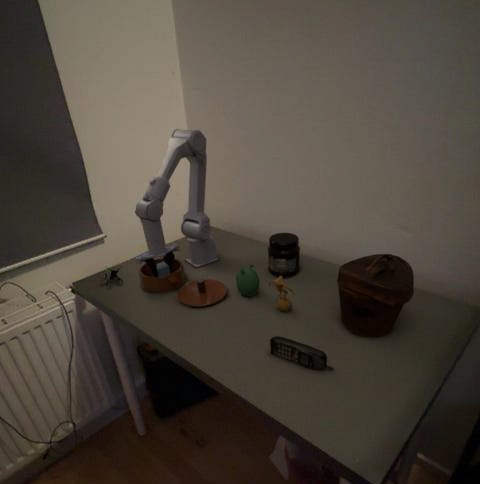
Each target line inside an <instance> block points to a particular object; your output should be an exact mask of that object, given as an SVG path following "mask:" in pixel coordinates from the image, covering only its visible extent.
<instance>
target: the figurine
mask: <svg viewBox="0 0 480 484" xmlns="http://www.w3.org/2000/svg"><path fill="white" fill-rule="evenodd" d="M272 284H274V286H275V287H276V288H275V289H276V291H277V292H278V297H279V299H278V300H277V308H278V310H280V311H281V312H287V311H289V310H291V308H292V304H293V303H292V301H291V299H290V298H289V297H287V295H288V293H289V292H288V291H290V292H291V293H292V294H293V295H296V293H295V291H294V290H293V289H292V288H291V287H290V286H289V285H287V284H286V283H285V282H284V277H282V276H280V277H278V278H277V279H273V280H270V281H268V287H271V286H272ZM285 288H286V289H288V291H287V290H286V289H285ZM282 293H283V296H282Z"/></svg>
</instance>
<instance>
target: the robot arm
mask: <svg viewBox="0 0 480 484" xmlns="http://www.w3.org/2000/svg"><path fill="white" fill-rule="evenodd" d="M167 143H168V148H167V151H166V154H165V156H164V159H163V161H162V165H161V166H160V169H159V172H158V175H155V176H153V177H152V178H151V179H150V180H149V181H148V182H149V184H148V187H147V189H146V191H145V193H144V195H143V196H142V199H140V200H139V201H138V202H137V203H136V205H135V210H134V213H135V215H136V217H138V219H139V221H140V223H141V227H142V230H143V234H144V239H145V243H146V247H147V250H146V251H145V252H143V253H140V254H138V255H136V256H134V258H135V262H136V263H137V264H138V265H142V263H144V262H145V263H146V264H147V265H148V266H149V268H150V269H151V271H152V273H153V275H154V277H158V272H157V264H156V262H155V261H154V260H153V259H157V258H164V261H165V263H166V264H167V265H168V266H169V269H170V274H171V270H172V264H173V261H174V258H176V255H175V253H174V252H180V251H181V248H180V245H179V244H178V243H173V244H169V245H168V244H166V240H165V235H164V229H163V224H162V220H161V218H162V216H163V214H164V202H165V200H166V197H167V196H168V193H169V191H170V189H171V183H170V179H171V177H173V174H174V172H175V171H176V169H177V167H178V166H179V164H180V161H181V160H182V159H184V158H185V159H186V160H187V161H188V163H189V175H188V177H189V178H188V203H187V204H188V205H187V212H185V213H184V214H183V215H182V222H181V225H180V230H181V231H180V232H181V234H182V235H183V236H185V239H186V240H187V248H188V253H189V258H186V259H185V260H186V262H188V263H189V264H190V265H191V266H193V267H194V268H199V267H203V266H205V265H208V264H210V263H213V262H216V261H219V258H218V253H217V247H216V241H215V238H214V237H213V236H212V235H211V234H212V226H211V219H210V217H209V216H208V215H207V214H206V213H205V203H206V202H205V201H206V185H207V184H206V182H207V181H206V180H207V165H208V163H207V161H208V155H207V137H206V136H205V135H204V133H203V132H202V131H201V130H199V129H193V130H192V129H180V128H176V129H173V130H172V132H171V133H170V137H169V138H168V140H167Z"/></svg>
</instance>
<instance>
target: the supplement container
mask: <svg viewBox="0 0 480 484" xmlns="http://www.w3.org/2000/svg"><path fill="white" fill-rule="evenodd" d="M268 244H269V245H268V246H267V259H268V260H267V262H268V265H267V268H268V269H267V270H268V272H269V273H270V274H271V275H273V276H275V277H278V278H279V277H280V276H282V277H283V278H289V277H292V276H295V275H296V274H297V273H298V272H299V271H300V252H301V247H300V245H299V244H300V238H299V236H298V235H297V234H295V233H292V232H278V233H274V234H272V235H270V236H269V238H268Z"/></svg>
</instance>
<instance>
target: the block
mask: <svg viewBox="0 0 480 484" xmlns="http://www.w3.org/2000/svg"><path fill="white" fill-rule="evenodd" d="M157 272H158V277H161V276H167V275H169V274H170V269H169V266H168V265H167V264H166V263H165V262H162V263H159V264H157Z"/></svg>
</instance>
